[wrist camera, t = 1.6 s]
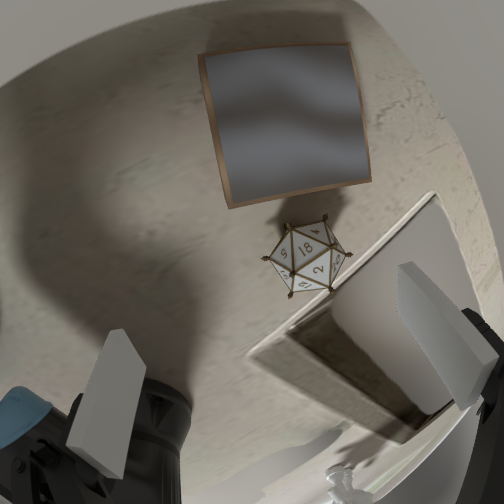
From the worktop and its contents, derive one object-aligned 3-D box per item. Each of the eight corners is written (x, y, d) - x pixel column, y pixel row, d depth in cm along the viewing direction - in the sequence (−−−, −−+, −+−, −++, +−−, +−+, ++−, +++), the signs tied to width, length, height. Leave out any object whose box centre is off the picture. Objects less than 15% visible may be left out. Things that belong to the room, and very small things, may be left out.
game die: (290, 218, 37) (339, 186, 28) (327, 274, 37) (383, 257, 28) (236, 256, 33) (277, 229, 24) (279, 317, 33) (332, 312, 24)
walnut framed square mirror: (347, 174, 32) (373, 182, 27) (224, 197, 31) (229, 210, 26) (327, 55, 27) (351, 41, 21) (198, 69, 26) (197, 53, 20)
